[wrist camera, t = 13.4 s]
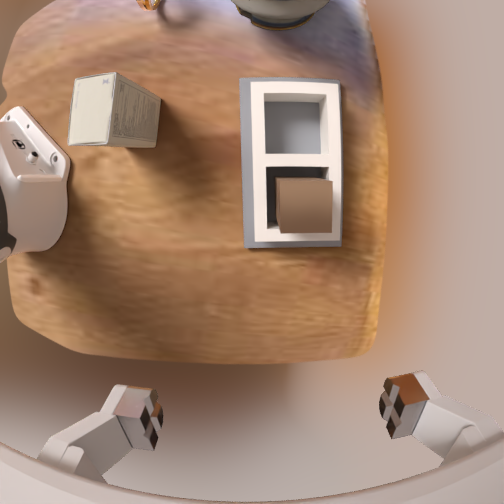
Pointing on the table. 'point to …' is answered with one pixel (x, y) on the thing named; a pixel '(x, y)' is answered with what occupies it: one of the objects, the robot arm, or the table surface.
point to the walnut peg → (303, 204)
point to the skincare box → (112, 113)
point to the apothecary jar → (279, 12)
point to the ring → (148, 4)
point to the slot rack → (289, 152)
